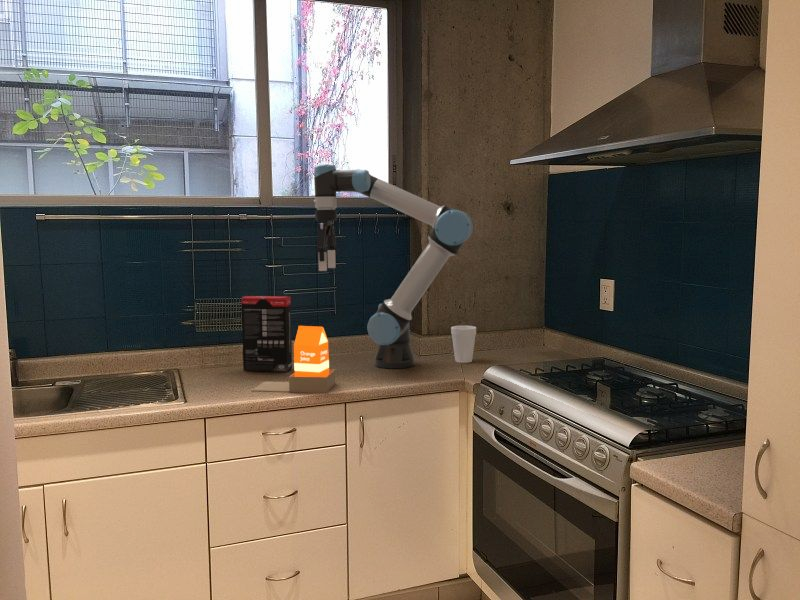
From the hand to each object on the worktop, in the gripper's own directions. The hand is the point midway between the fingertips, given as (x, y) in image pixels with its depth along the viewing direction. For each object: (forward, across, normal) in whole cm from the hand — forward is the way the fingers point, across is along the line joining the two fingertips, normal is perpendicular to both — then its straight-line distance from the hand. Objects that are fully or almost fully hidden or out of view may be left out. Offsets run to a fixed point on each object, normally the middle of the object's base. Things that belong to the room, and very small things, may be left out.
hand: (327, 269), depth 247 cm
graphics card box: (+37, +1, -23) cm, 43 cm away
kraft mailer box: (+37, +26, -6) cm, 45 cm away
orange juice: (+36, +26, 0) cm, 45 cm away
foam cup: (+37, -20, +48) cm, 63 cm away
